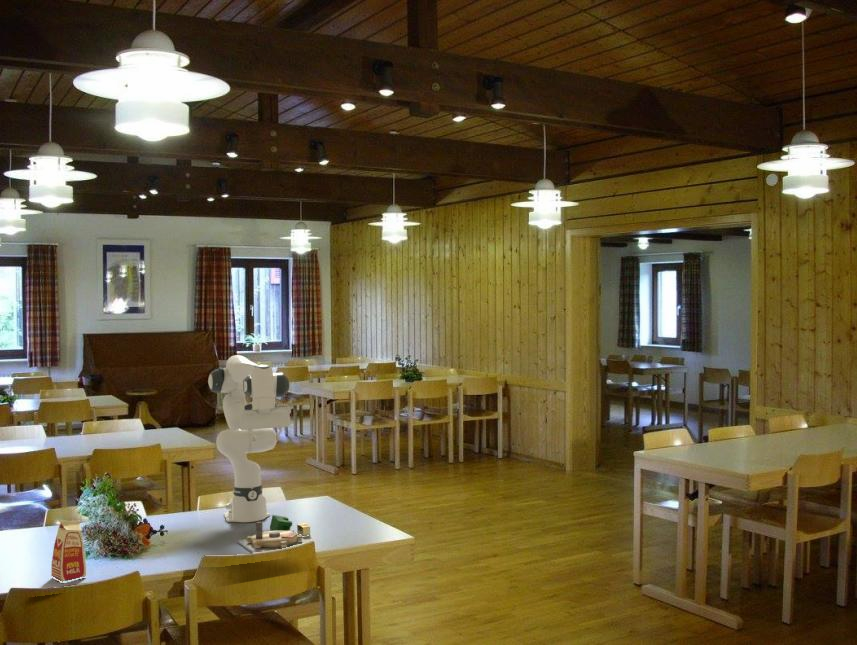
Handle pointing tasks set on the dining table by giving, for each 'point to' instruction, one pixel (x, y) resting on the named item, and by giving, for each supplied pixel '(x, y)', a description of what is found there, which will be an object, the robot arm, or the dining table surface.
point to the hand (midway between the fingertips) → (265, 440)
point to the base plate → (251, 547)
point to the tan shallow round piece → (273, 538)
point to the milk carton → (68, 552)
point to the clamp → (280, 523)
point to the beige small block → (303, 529)
